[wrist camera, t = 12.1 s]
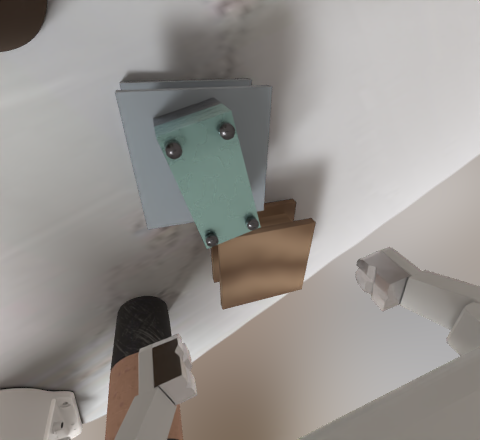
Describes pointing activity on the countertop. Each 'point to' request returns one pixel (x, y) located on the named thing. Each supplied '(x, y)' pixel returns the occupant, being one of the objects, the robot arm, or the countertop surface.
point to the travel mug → (135, 358)
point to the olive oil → (20, 22)
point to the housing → (209, 169)
